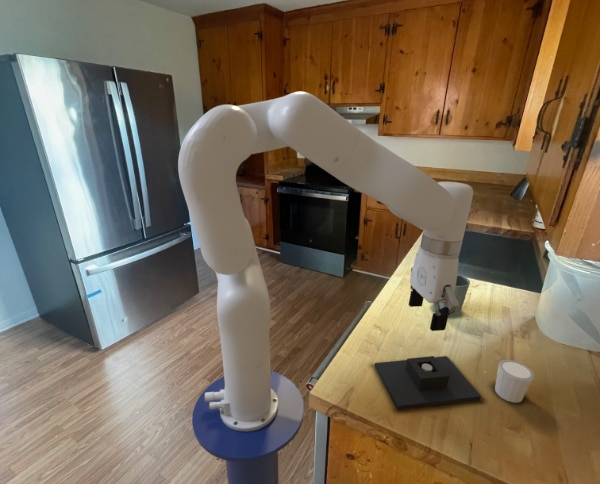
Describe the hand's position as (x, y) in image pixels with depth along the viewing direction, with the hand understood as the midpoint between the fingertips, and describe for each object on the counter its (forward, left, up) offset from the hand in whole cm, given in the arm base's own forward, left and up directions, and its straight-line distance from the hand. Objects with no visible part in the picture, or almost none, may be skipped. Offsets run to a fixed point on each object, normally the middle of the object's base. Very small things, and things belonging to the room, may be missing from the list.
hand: (425, 317), depth 73 cm
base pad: (+3, 0, -18) cm, 19 cm away
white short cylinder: (+21, -6, -19) cm, 28 cm away
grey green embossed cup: (+27, +30, -19) cm, 44 cm away
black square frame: (+3, 0, -17) cm, 17 cm away
